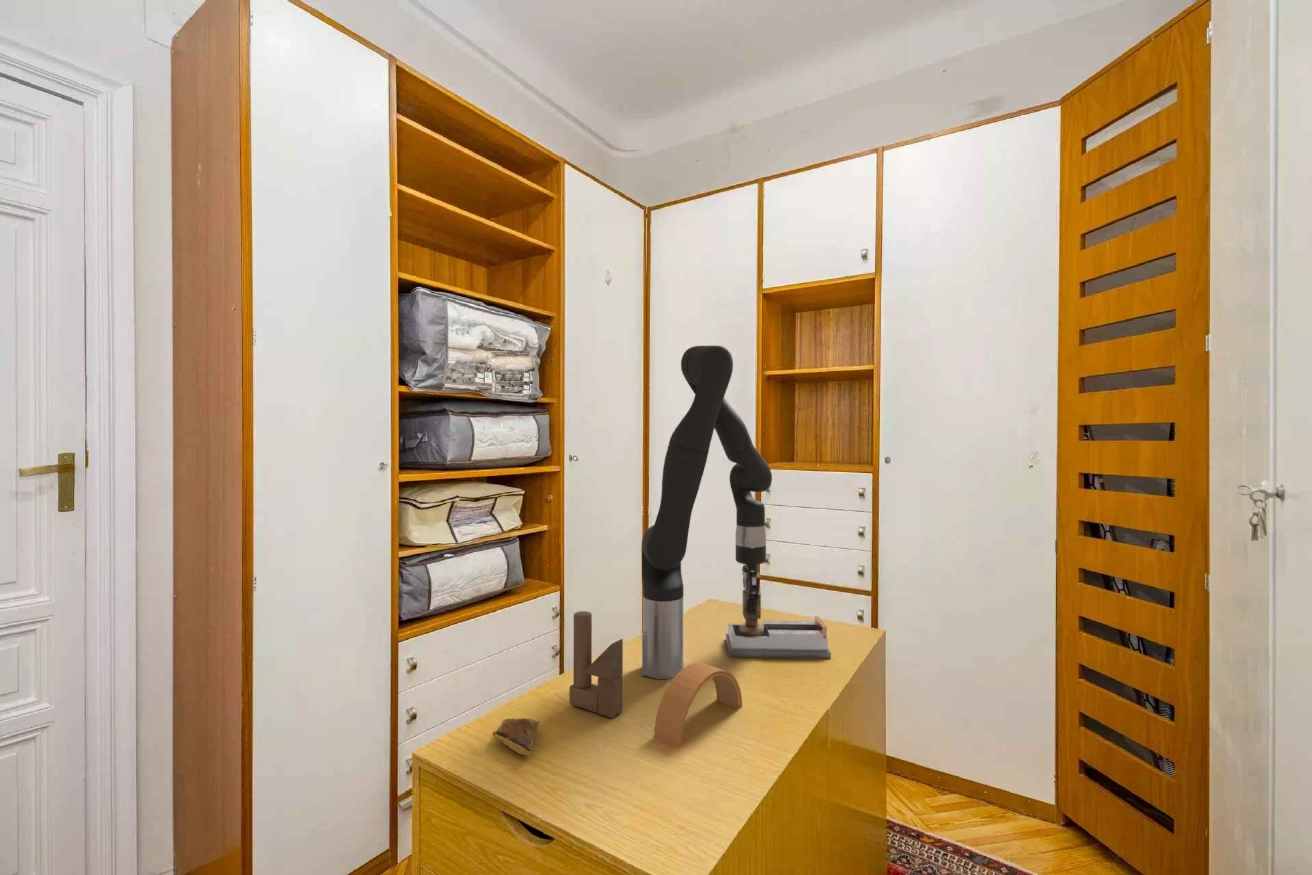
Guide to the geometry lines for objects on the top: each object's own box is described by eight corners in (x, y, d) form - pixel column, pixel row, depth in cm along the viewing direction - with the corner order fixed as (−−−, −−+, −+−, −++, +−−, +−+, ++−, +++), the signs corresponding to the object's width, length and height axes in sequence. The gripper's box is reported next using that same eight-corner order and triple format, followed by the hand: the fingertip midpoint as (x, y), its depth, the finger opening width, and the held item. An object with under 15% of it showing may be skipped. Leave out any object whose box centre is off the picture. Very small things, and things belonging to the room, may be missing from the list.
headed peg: (740, 636, 142) (740, 595, 142) (738, 627, 148) (738, 588, 148) (765, 636, 142) (765, 595, 142) (761, 628, 148) (761, 589, 148)
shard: (530, 759, 95) (530, 748, 95) (483, 761, 94) (482, 750, 94) (540, 727, 106) (540, 717, 106) (498, 728, 105) (498, 718, 105)
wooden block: (611, 719, 109) (612, 624, 109) (568, 704, 115) (568, 614, 115) (623, 711, 112) (623, 618, 112) (580, 697, 118) (580, 609, 118)
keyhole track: (730, 657, 139) (730, 628, 139) (725, 639, 151) (725, 612, 151) (830, 658, 139) (830, 629, 139) (818, 640, 151) (818, 613, 151)
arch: (743, 707, 114) (743, 657, 114) (678, 748, 99) (678, 690, 99) (719, 698, 118) (719, 649, 118) (653, 736, 103) (653, 681, 103)
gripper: (732, 537, 152) (733, 602, 152) (738, 548, 138) (738, 620, 138) (761, 537, 152) (761, 603, 152) (770, 548, 138) (770, 620, 138)
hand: (750, 610), depth 145 cm, fingers closed on headed peg, 4 cm apart
